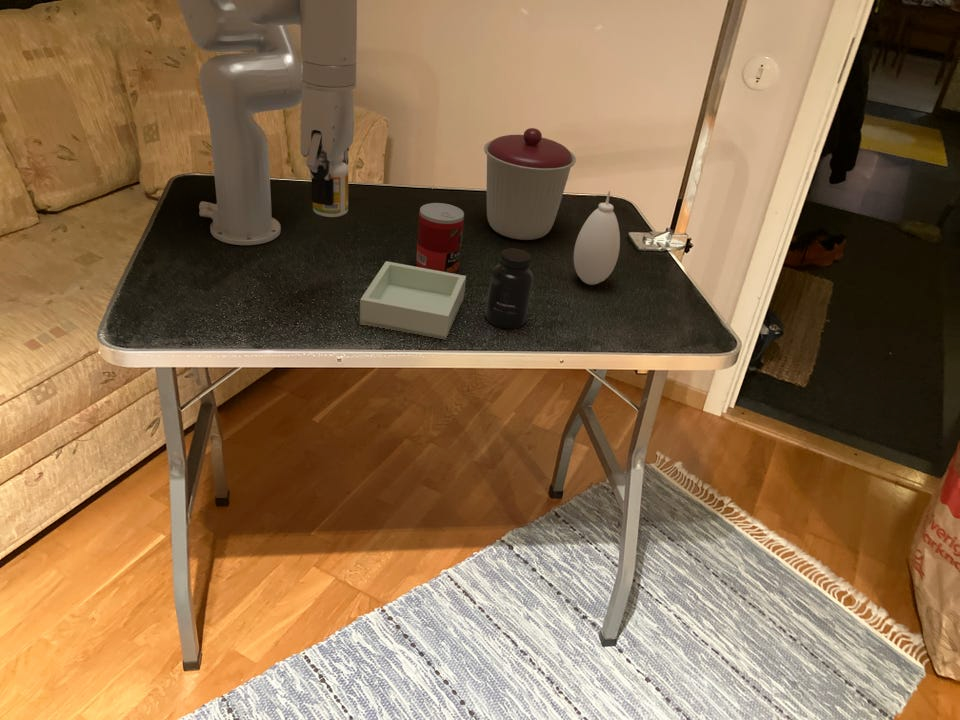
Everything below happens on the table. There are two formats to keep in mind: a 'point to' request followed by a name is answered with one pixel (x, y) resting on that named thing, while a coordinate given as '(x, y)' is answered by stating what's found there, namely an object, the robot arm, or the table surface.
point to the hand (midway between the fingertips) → (330, 195)
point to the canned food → (439, 237)
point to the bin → (413, 300)
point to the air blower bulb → (597, 245)
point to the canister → (525, 183)
